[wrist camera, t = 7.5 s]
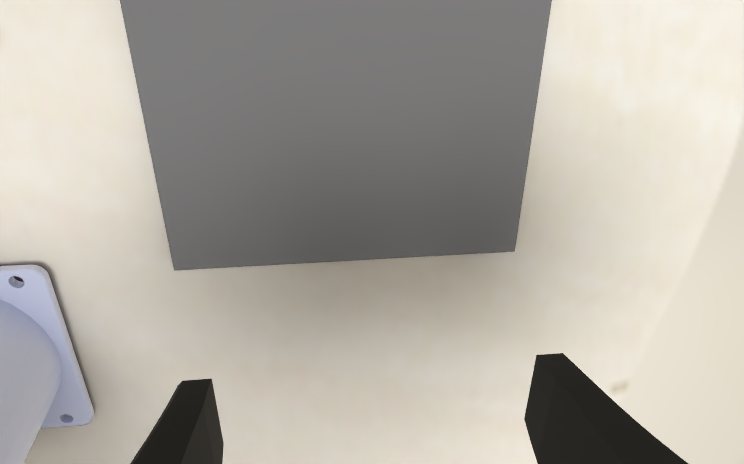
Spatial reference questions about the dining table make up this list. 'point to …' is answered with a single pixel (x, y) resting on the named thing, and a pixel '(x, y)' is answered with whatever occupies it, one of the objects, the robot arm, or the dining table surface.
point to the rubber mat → (337, 125)
